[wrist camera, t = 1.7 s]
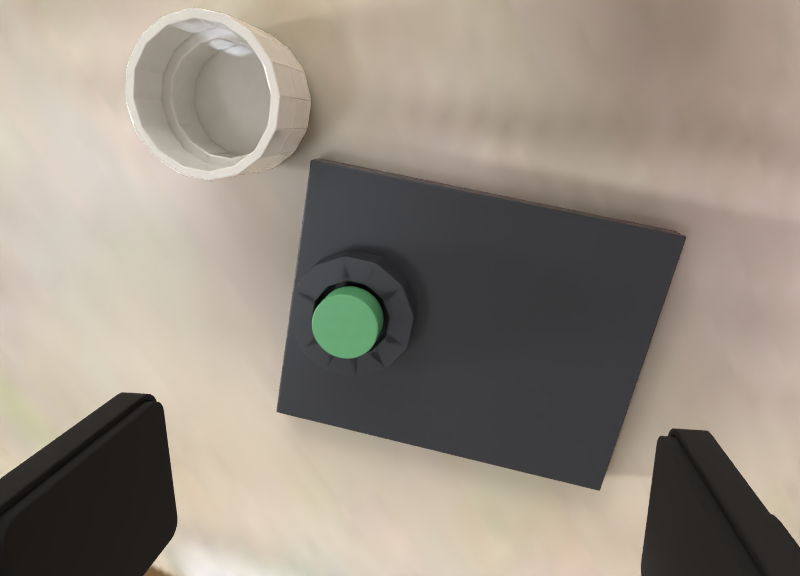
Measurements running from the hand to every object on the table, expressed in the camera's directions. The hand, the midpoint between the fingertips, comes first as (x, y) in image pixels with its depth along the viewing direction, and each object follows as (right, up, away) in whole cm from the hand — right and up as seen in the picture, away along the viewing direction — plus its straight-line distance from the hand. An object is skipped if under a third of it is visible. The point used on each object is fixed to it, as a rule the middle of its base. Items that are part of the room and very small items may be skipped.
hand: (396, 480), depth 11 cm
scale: (+3, +2, +20) cm, 20 cm away
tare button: (-2, +2, +18) cm, 18 cm away
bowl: (-8, +13, +18) cm, 23 cm away
